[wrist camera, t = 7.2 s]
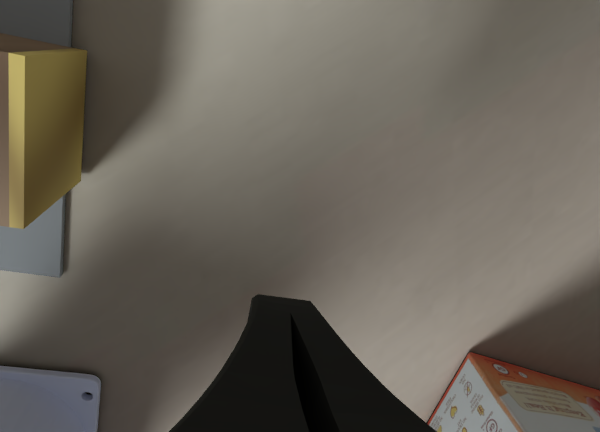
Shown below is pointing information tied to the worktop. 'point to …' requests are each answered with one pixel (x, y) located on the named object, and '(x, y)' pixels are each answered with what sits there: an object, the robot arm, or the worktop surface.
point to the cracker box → (514, 401)
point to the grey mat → (50, 224)
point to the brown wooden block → (39, 126)
